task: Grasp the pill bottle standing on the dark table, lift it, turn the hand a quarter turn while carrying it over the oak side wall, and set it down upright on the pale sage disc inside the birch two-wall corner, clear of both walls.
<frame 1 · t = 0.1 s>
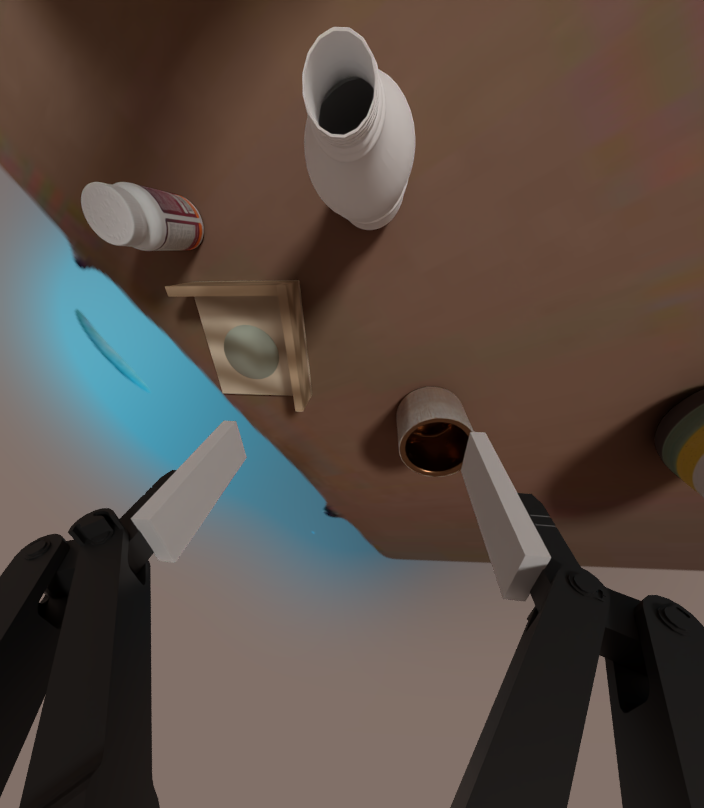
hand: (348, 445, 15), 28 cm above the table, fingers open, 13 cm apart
planter: (428, 412, 46), on the table
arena: (257, 342, 43), on the table
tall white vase: (372, 195, 32), on the table
pill bottle: (184, 224, 36), on the table
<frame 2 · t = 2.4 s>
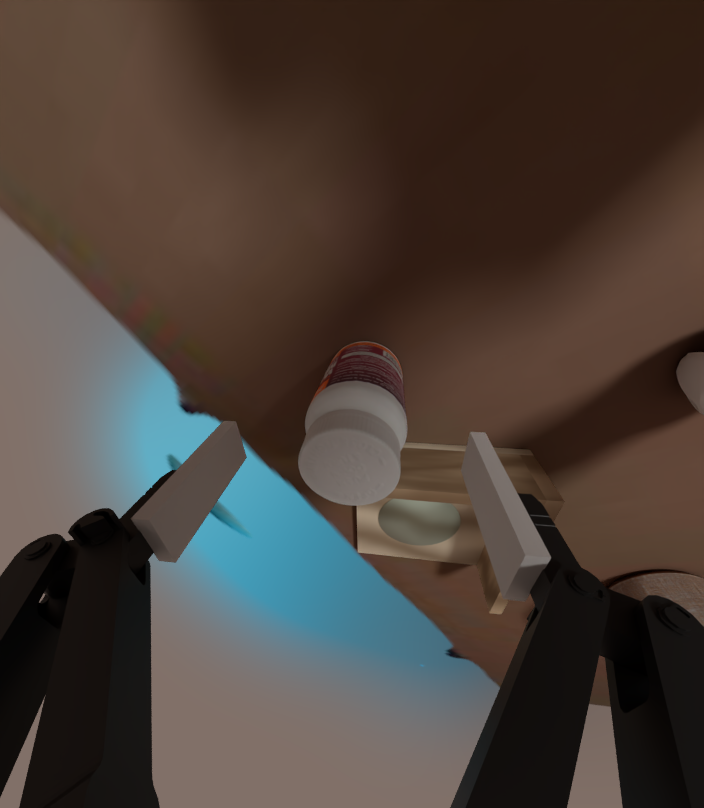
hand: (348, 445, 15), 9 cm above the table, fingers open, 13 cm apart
planter: (649, 589, 33), on the table
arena: (428, 506, 30), on the table
pill bottle: (366, 373, 23), on the table
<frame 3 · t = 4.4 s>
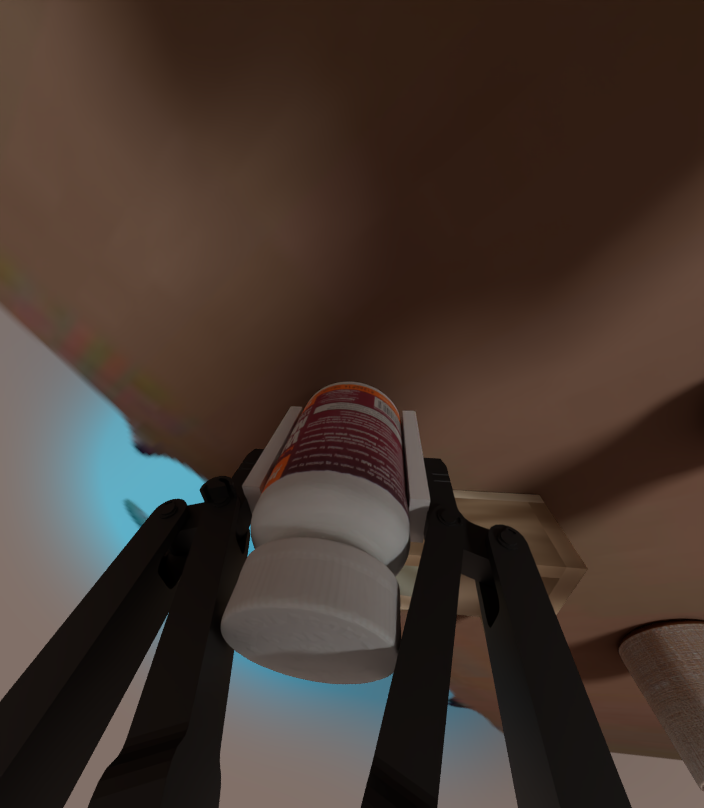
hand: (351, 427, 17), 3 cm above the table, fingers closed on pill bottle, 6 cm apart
planter: (670, 638, 30), on the table
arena: (424, 555, 26), on the table
pill bottle: (352, 420, 17), point 2 cm above the table, touching gripper
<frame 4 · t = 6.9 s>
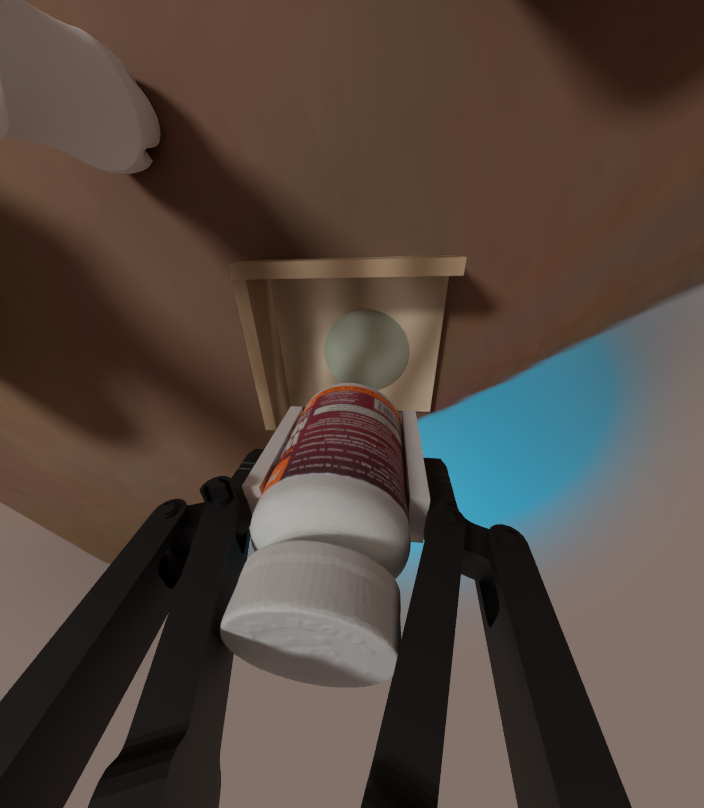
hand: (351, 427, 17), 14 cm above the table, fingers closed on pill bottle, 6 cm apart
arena: (352, 341, 29), on the table
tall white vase: (130, 125, 22), on the table
pill bottle: (352, 421, 17), point 14 cm above the table, touching gripper
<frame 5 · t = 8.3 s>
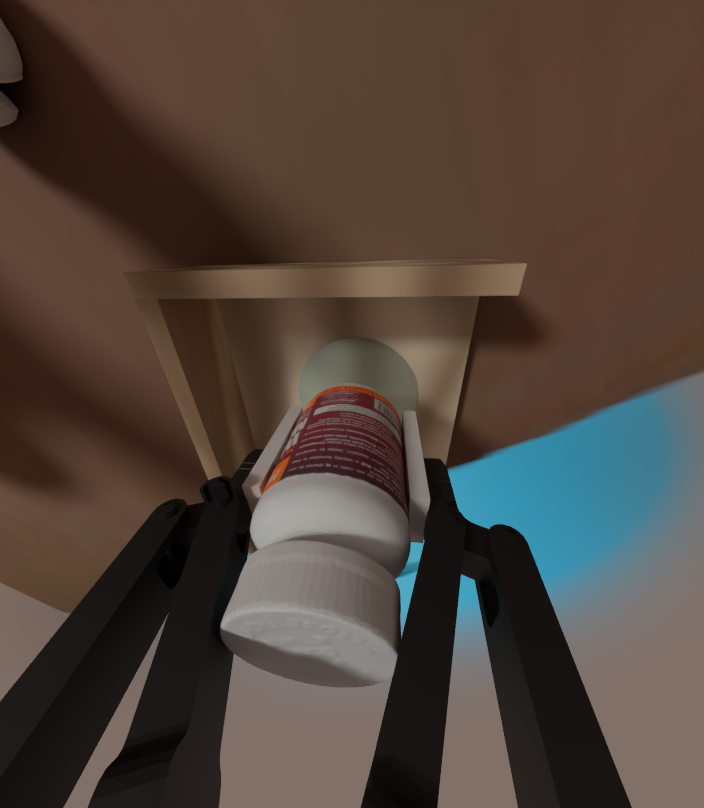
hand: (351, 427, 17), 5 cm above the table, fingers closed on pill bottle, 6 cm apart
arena: (338, 379, 21), on the table
pill bottle: (352, 421, 17), point 4 cm above the table, touching gripper
when the fingers open (2 cm above the table, at t = 9.2 s): pill bottle drops 1 cm, resting on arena.
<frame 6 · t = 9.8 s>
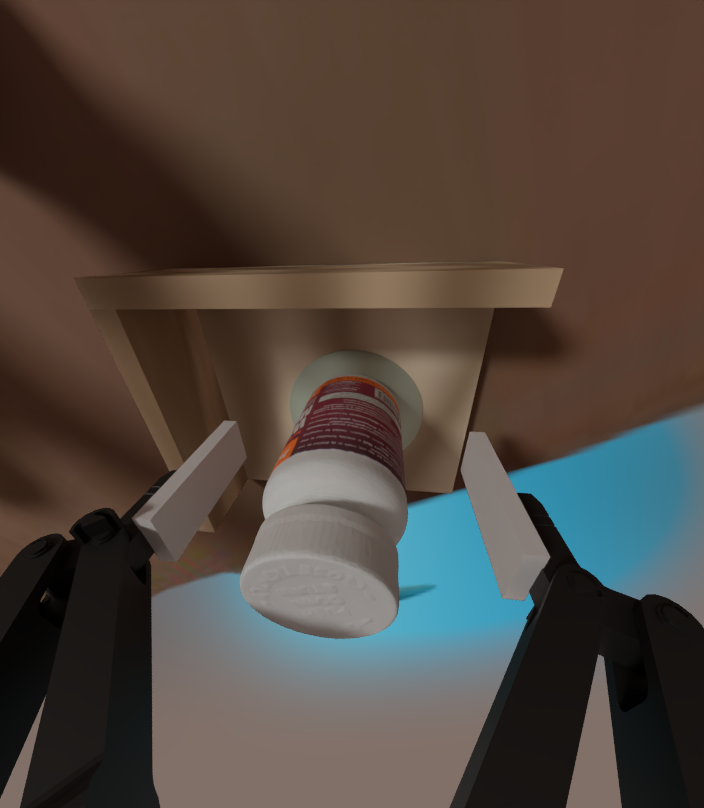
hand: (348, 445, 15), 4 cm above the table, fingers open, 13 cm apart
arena: (334, 394, 19), on the table
pill bottle: (354, 411, 18), point 1 cm above the table, touching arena
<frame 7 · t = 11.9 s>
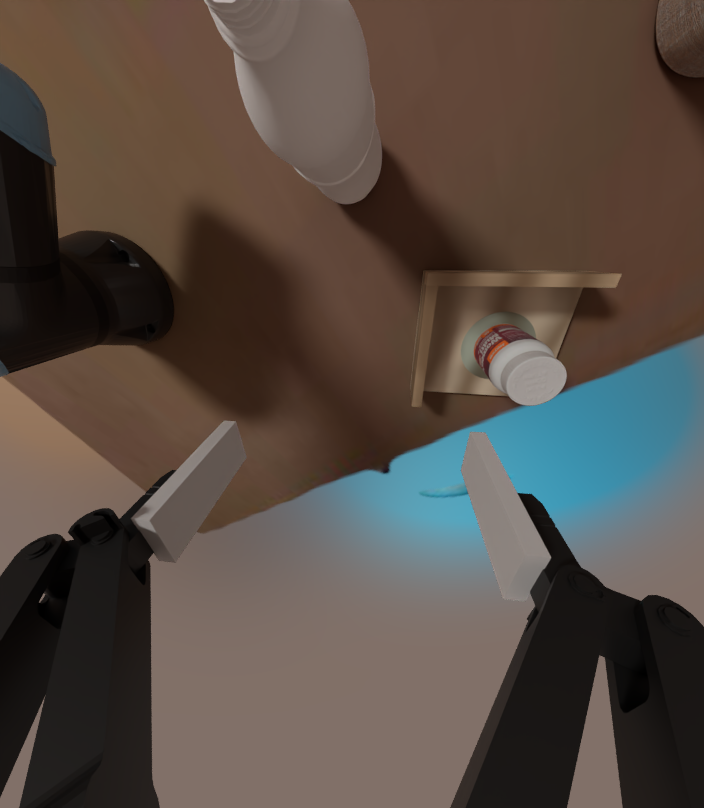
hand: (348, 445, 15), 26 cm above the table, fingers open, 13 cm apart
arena: (485, 337, 36), on the table
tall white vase: (350, 168, 29), on the table
pill bottle: (496, 346, 35), point 1 cm above the table, touching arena
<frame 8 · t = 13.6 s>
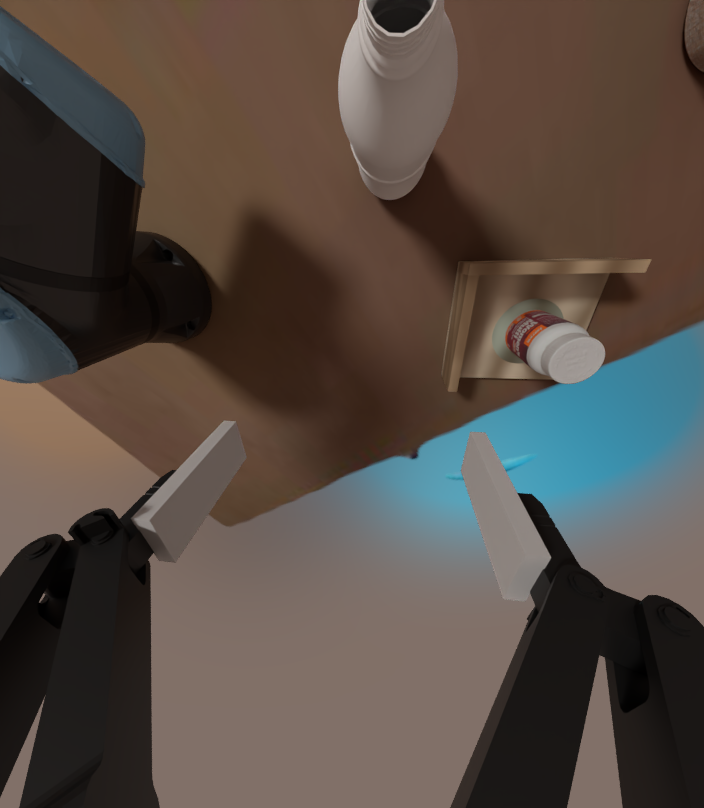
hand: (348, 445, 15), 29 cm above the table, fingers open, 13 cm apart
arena: (514, 324, 38), on the table
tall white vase: (392, 165, 31), on the table
pill bottle: (526, 331, 37), point 1 cm above the table, touching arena
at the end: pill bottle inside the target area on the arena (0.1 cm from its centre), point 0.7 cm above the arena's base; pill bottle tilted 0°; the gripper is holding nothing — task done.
